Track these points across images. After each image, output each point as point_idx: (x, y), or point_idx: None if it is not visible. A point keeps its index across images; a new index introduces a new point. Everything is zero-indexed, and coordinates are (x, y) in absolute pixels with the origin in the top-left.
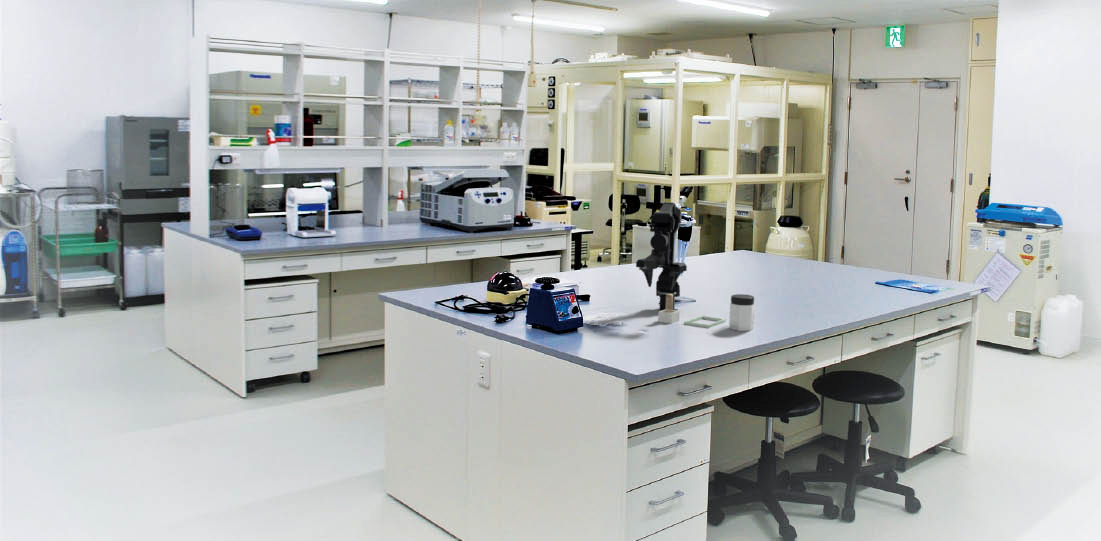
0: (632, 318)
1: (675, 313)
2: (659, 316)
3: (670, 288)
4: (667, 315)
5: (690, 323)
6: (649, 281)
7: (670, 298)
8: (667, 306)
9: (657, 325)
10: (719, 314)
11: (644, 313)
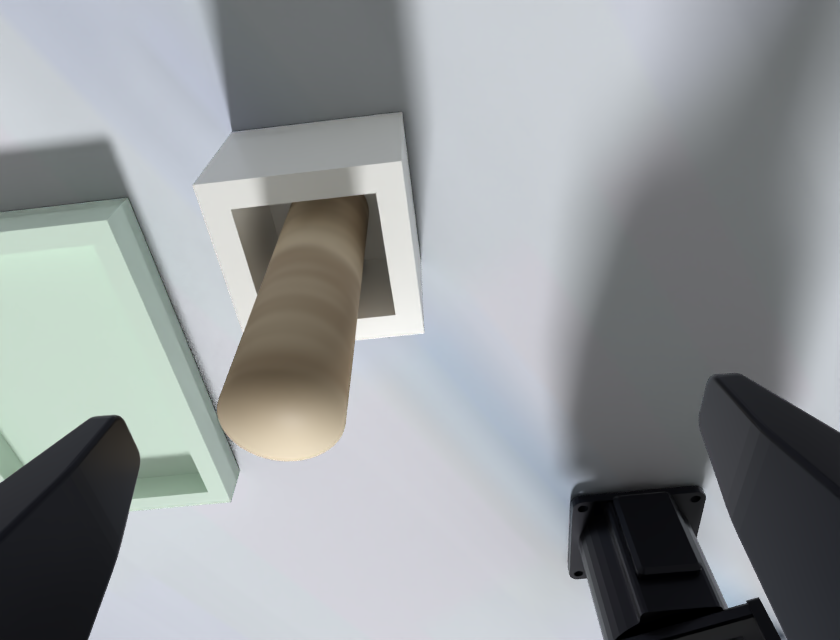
0: (776, 118)
1: (226, 266)
2: (386, 140)
3: (81, 435)
4: (266, 164)
5: (33, 222)
6: (787, 479)
7: (237, 351)
8: (296, 260)
9: (338, 10)
10: (304, 633)
11: (753, 376)
